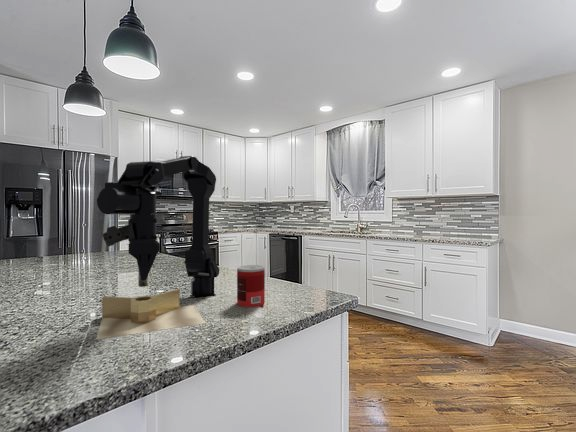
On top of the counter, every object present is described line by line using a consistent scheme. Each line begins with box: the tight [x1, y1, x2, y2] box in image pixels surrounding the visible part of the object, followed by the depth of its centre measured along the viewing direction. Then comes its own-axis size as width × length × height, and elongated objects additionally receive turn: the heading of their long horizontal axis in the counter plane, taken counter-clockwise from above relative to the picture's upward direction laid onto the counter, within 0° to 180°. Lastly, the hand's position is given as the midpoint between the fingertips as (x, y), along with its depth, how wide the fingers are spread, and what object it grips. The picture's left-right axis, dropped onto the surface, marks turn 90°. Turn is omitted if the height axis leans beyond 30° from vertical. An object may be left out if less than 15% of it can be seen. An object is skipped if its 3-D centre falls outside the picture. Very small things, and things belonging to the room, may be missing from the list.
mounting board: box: [95, 304, 207, 341], centre depth 76 cm, size 22×16×1 cm
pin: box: [137, 267, 149, 288], centre depth 76 cm, size 2×2×8 cm
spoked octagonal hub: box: [101, 288, 180, 324], centre depth 78 cm, size 18×9×5 cm, turn 116°
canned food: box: [236, 264, 266, 308], centre depth 90 cm, size 8×8×11 cm
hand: (143, 279), depth 76 cm, fingers closed on pin, 2 cm apart
